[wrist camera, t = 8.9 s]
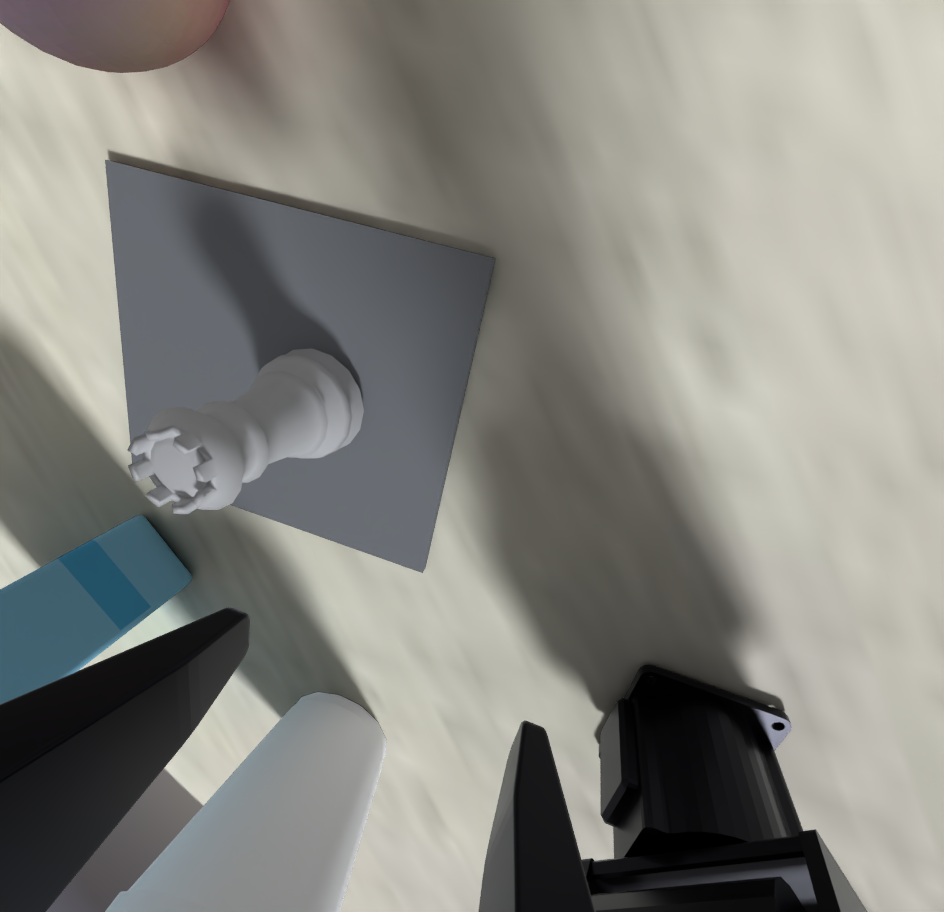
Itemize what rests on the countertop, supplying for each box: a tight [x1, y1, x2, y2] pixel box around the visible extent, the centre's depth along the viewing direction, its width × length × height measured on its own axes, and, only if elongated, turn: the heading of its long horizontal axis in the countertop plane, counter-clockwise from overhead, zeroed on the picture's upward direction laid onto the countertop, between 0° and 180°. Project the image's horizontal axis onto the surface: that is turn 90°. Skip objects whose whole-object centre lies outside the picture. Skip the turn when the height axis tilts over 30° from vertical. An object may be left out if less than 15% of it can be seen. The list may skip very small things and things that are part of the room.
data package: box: [0, 515, 192, 704], centre depth 23 cm, size 12×4×12 cm, turn 122°
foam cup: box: [105, 692, 386, 912], centre depth 23 cm, size 10×9×13 cm
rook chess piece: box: [128, 348, 364, 514], centre depth 17 cm, size 4×4×8 cm
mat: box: [105, 160, 495, 573], centre depth 21 cm, size 16×14×1 cm
